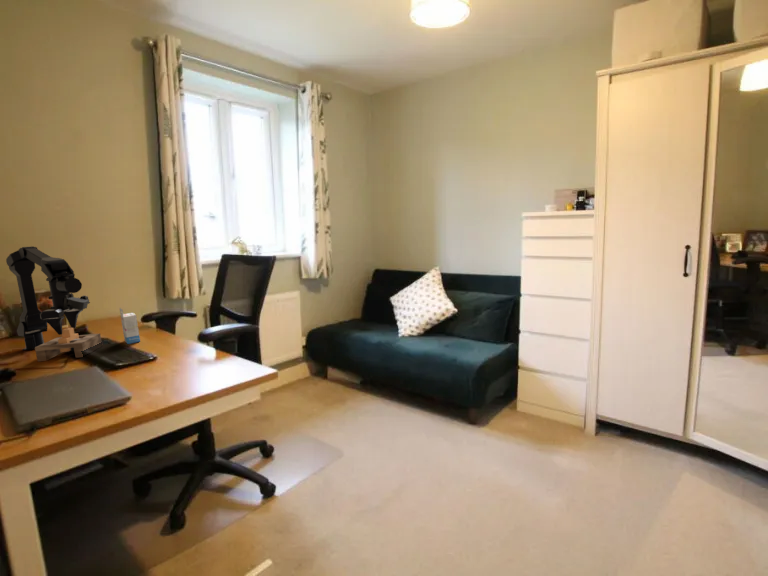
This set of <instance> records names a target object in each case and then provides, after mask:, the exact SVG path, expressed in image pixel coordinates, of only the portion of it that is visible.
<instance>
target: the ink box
mask: <svg viewBox="0 0 768 576" xmlns="http://www.w3.org/2000/svg"><path fill="white" fill-rule="evenodd" d="M119 313H120V321H121V327H122V334H123V337H124V342H125V343H126V344H127V345H131V344H136V343H140V342H141V337H140V332H139V331H140V330H139V326H138V319H137V314H135V313H134V312H128V313H124V310H123V308H121V307H119Z"/></svg>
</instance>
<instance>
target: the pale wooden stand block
mask: <svg viewBox="0 0 768 576" xmlns="http://www.w3.org/2000/svg"><path fill="white" fill-rule="evenodd" d="M60 337H62V338H60V339H58V343H59V344H63V343H70V342H69V341H72V340H74V339H79V333H75V329H73V328H72V327H67V328H66V327H65V328H62V334H61V335H60ZM70 351H72V348H64V349H60V352H62V353H67V352H70Z"/></svg>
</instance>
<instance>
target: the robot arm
mask: <svg viewBox="0 0 768 576" xmlns="http://www.w3.org/2000/svg"><path fill="white" fill-rule="evenodd" d="M5 261H6V265H7V266H8V269H9V271H10V272H11V273H12V274H13V275H14V276H15V278H16V282H17V287H18V291H19V296H20V302H21V306H22V312H21V315H20V316H19V323H18V326H17V329H16V333H17V335H18V337H23V338H24V343H25V347H24V348H22V351H29V350H35V347H37V346H39V345H41V344H44V343H45V339H44V337H43V336H44V335H43V333H44V332H48V325H50V327H51V328H52V329H53V330H54V331H55V333H57V335H59V336H61V334H62V329H63V322H62V321H63V320H64V318H66V320H67V322H68V324H69V326H70V328H73V329H74V330H75V329H76V327H77V323H78V317H79V315H80V313H81V312H82V311H83V310H85V309H88V305H90V303H91V302H90V299H89V296H88V295H82V296H80V297H75V296H74V294H76V293H79V292H80V291H81V289H82V287H83V285H82V282H81V281H80V279H79V278H76V277H75V275H76V274H75V271H74V270H73V269H72V267H71V266H70V264H69V263H68V262H67V261H66V260H65V259H64V258H60V257H52V256H50V255H48V254H46V253H45V252H43V251H42V250H40V249H38V247H37V246H32V245H31V246H22V247H20V248H19V249H18V250H15V251H14V252H12V253H9V254H8V256H7V257H6V260H5ZM36 265H38V266H39V267H40V268H41V269H40V271H41V272H42V273H43V274H44V275H45V276H46V277H47V278H46V279H45V280H46V281H47V282H48V285H49V290H50V295H48V299H49V300H51V302H52V306H50V308H49V309H45V310H42V311H41V310H40V309H39V306H38V301H37V295H36V291H35V287H34V281H33V276H32V275H33V273H34V271H35V269H36Z"/></svg>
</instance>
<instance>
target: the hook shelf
mask: <svg viewBox="0 0 768 576" xmlns="http://www.w3.org/2000/svg"><path fill="white" fill-rule="evenodd" d="M78 335H79V334H78ZM60 338H62V336H60V337H55V338H53V339H51V340H48V341H46V342H44V344H41V345H39V346H37V347H35V349H34V350H35V354H36V359H37V362H44V361H45V362H46V361H49V360H51V359H52V358H55V357H57V356H58V355H60V354H63V352H60V349H64V348H71V349H72V348H73V351H74V355H75V358H76V359H77V358H84V357H83V354H82V352H81V351H84V350H86V349H88V348H90V347H93V346H95V345H97V344H99V343H101V342H102V337H101V333H91V334H90V333H89V334H80V335H79V339H74V340H72V341H69V342H70V343H63V344H59V343H58V339H60ZM102 343H103V342H102Z"/></svg>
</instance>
